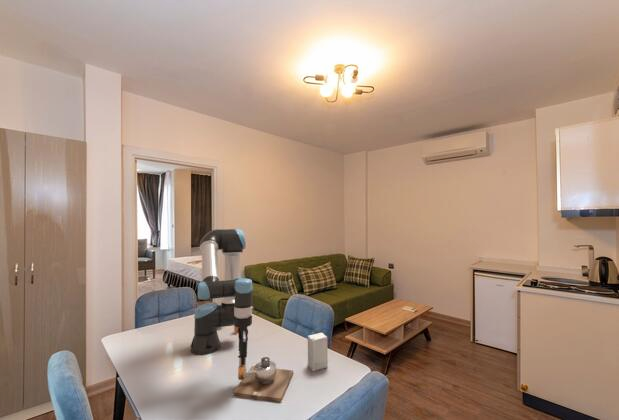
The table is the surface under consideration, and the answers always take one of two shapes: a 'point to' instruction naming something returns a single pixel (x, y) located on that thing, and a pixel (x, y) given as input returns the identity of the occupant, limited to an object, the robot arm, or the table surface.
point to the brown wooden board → (265, 387)
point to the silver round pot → (259, 371)
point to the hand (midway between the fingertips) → (242, 370)
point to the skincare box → (317, 351)
